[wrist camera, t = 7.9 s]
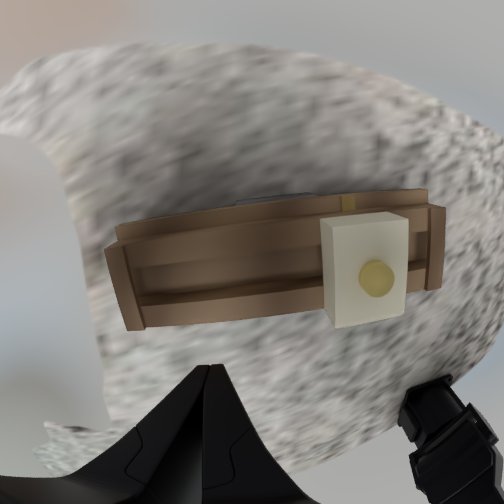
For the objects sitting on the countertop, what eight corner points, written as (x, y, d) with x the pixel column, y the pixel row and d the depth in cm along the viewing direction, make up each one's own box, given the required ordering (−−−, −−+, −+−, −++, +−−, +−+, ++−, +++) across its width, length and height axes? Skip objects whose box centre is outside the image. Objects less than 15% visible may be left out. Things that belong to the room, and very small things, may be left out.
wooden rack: (399, 185, 20) (445, 192, 14) (400, 270, 22) (439, 300, 16) (137, 216, 20) (100, 233, 14) (156, 302, 22) (131, 343, 16)
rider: (375, 207, 16) (416, 221, 12) (376, 287, 18) (410, 321, 13) (312, 214, 16) (337, 231, 12) (318, 297, 18) (339, 337, 13)
